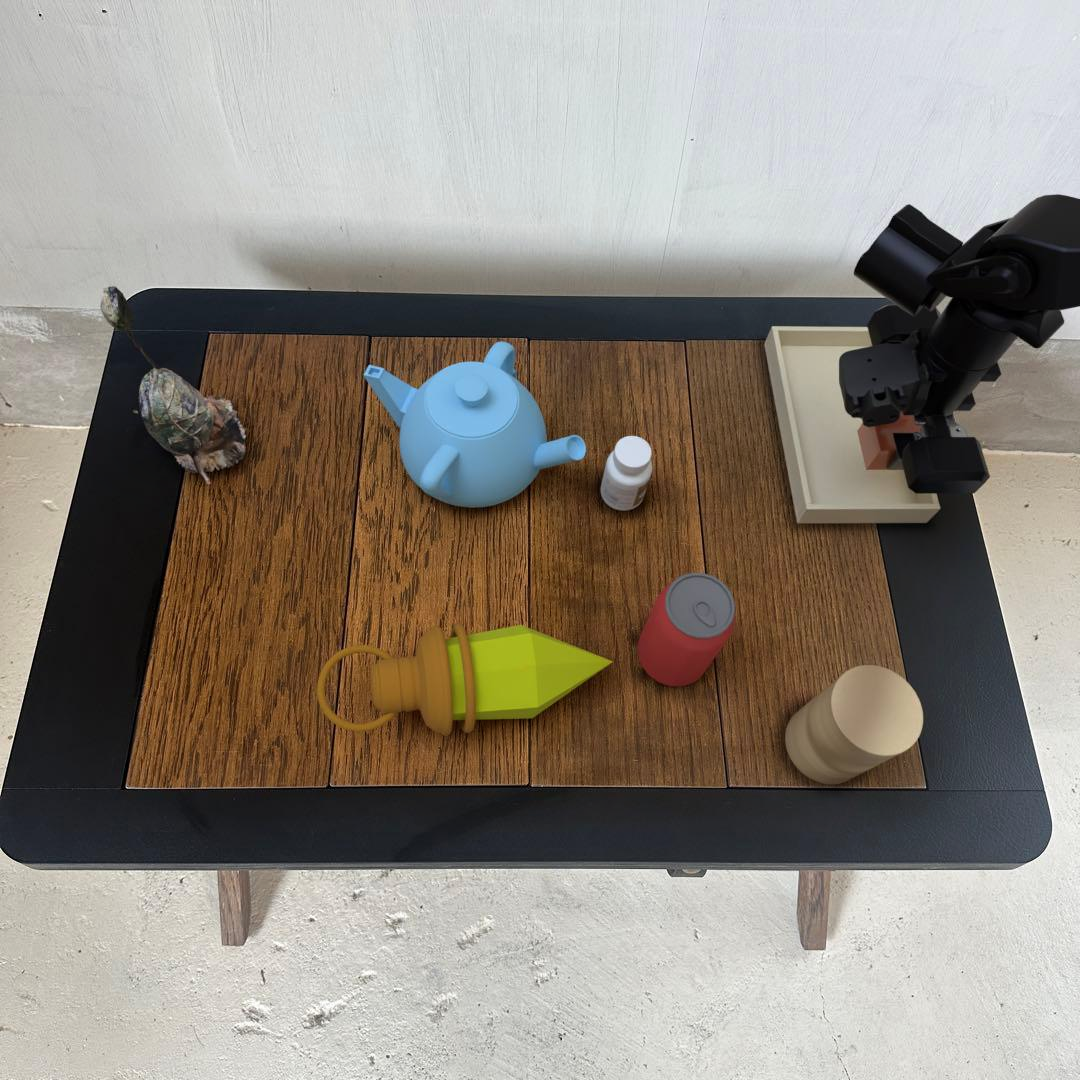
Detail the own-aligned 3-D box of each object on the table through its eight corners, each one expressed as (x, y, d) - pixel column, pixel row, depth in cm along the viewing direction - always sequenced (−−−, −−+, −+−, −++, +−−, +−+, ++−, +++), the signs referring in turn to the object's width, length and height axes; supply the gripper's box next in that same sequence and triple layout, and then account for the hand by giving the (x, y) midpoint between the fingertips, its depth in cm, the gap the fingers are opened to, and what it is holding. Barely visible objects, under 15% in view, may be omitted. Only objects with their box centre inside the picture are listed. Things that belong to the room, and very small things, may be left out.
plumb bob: (592, 617, 79) (316, 644, 73) (620, 600, 71) (310, 630, 65) (606, 715, 77) (323, 751, 71) (637, 711, 69) (318, 751, 63)
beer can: (660, 701, 75) (687, 658, 65) (623, 638, 78) (643, 586, 67) (721, 669, 77) (758, 621, 66) (683, 608, 79) (713, 553, 69)
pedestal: (872, 722, 75) (931, 685, 65) (854, 797, 72) (913, 770, 62) (796, 692, 76) (843, 650, 66) (775, 765, 73) (821, 733, 63)
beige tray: (926, 523, 85) (940, 508, 82) (797, 523, 84) (806, 509, 81) (880, 344, 95) (891, 326, 92) (764, 344, 94) (771, 325, 91)
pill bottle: (644, 512, 84) (658, 472, 77) (600, 511, 84) (610, 470, 77) (643, 474, 86) (656, 431, 79) (599, 472, 86) (609, 429, 79)
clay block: (911, 470, 82) (927, 450, 79) (865, 470, 82) (880, 450, 79) (901, 430, 84) (917, 410, 81) (856, 430, 84) (870, 410, 81)
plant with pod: (156, 496, 82) (61, 367, 64) (173, 399, 87) (90, 255, 69) (242, 495, 83) (171, 366, 65) (254, 399, 88) (192, 255, 70)
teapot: (442, 556, 81) (435, 498, 71) (371, 420, 87) (355, 349, 77) (583, 494, 84) (595, 431, 74) (505, 368, 91) (506, 294, 81)
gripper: (846, 254, 72) (789, 369, 86) (892, 439, 64) (821, 533, 78) (973, 256, 73) (896, 369, 87) (1036, 439, 64) (940, 532, 78)
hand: (886, 447), depth 82 cm, fingers closed on clay block, 4 cm apart
